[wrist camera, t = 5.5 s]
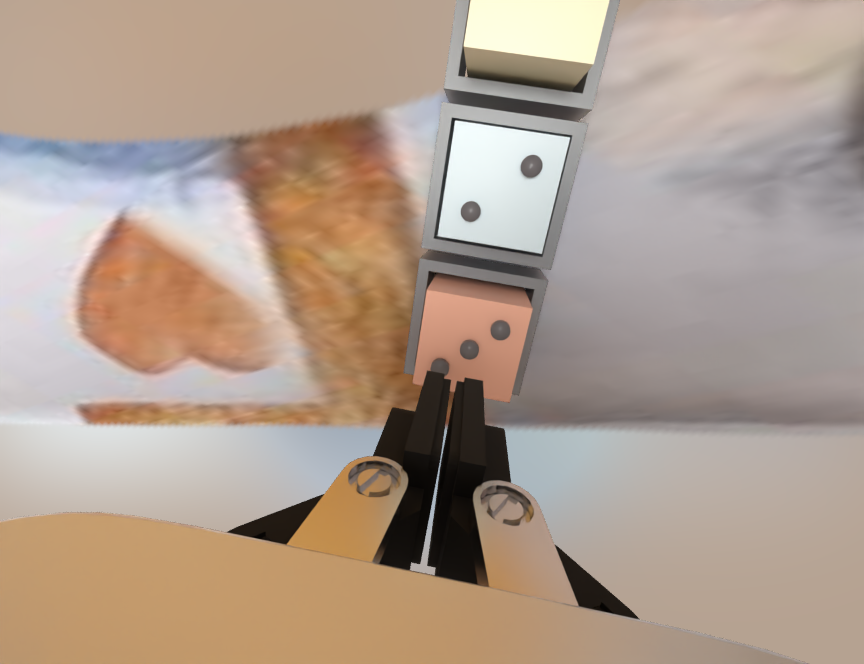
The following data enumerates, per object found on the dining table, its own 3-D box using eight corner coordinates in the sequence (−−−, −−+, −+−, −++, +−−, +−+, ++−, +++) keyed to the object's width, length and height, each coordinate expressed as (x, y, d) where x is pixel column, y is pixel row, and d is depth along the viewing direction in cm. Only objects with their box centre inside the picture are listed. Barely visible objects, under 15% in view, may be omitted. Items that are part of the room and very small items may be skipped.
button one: (599, -35, 16) (639, -115, 12) (569, 93, 17) (595, 61, 13) (488, -48, 16) (489, -131, 12) (468, 78, 17) (462, 43, 13)
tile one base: (614, -37, 17) (641, -84, 14) (575, 122, 19) (592, 109, 16) (473, -54, 17) (470, -103, 14) (449, 104, 19) (444, 88, 16)
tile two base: (573, 134, 19) (588, 123, 16) (541, 259, 21) (550, 269, 18) (448, 115, 19) (441, 102, 16) (429, 240, 21) (421, 247, 18)
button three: (523, 287, 20) (533, 310, 16) (505, 366, 21) (509, 406, 17) (437, 272, 20) (425, 291, 16) (425, 351, 22) (411, 386, 18)
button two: (553, 149, 19) (571, 136, 15) (531, 242, 20) (542, 254, 16) (461, 135, 19) (454, 119, 15) (446, 228, 21) (436, 236, 17)
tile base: (539, 269, 21) (548, 280, 18) (514, 371, 23) (518, 395, 20) (428, 250, 21) (419, 258, 19) (413, 351, 23) (403, 373, 21)
